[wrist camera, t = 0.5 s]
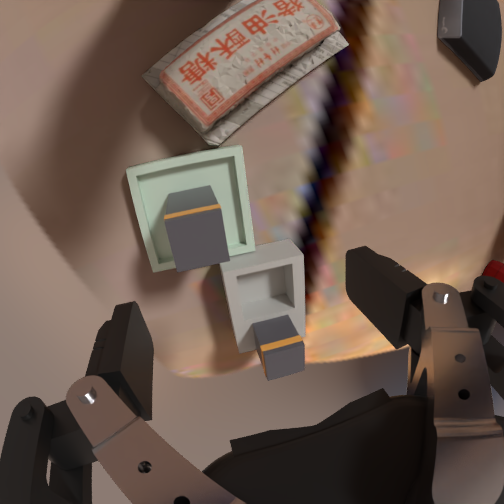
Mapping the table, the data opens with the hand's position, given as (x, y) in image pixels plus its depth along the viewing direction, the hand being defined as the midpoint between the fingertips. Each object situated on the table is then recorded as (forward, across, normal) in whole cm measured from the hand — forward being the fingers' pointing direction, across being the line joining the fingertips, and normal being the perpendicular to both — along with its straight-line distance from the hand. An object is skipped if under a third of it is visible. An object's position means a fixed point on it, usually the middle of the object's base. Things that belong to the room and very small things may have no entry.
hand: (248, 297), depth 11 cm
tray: (+19, +1, +1) cm, 19 cm away
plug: (+19, +1, +1) cm, 19 cm away
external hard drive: (+18, -42, -24) cm, 52 cm away
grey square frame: (+20, -4, +12) cm, 24 cm away
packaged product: (+19, -6, -13) cm, 24 cm away
